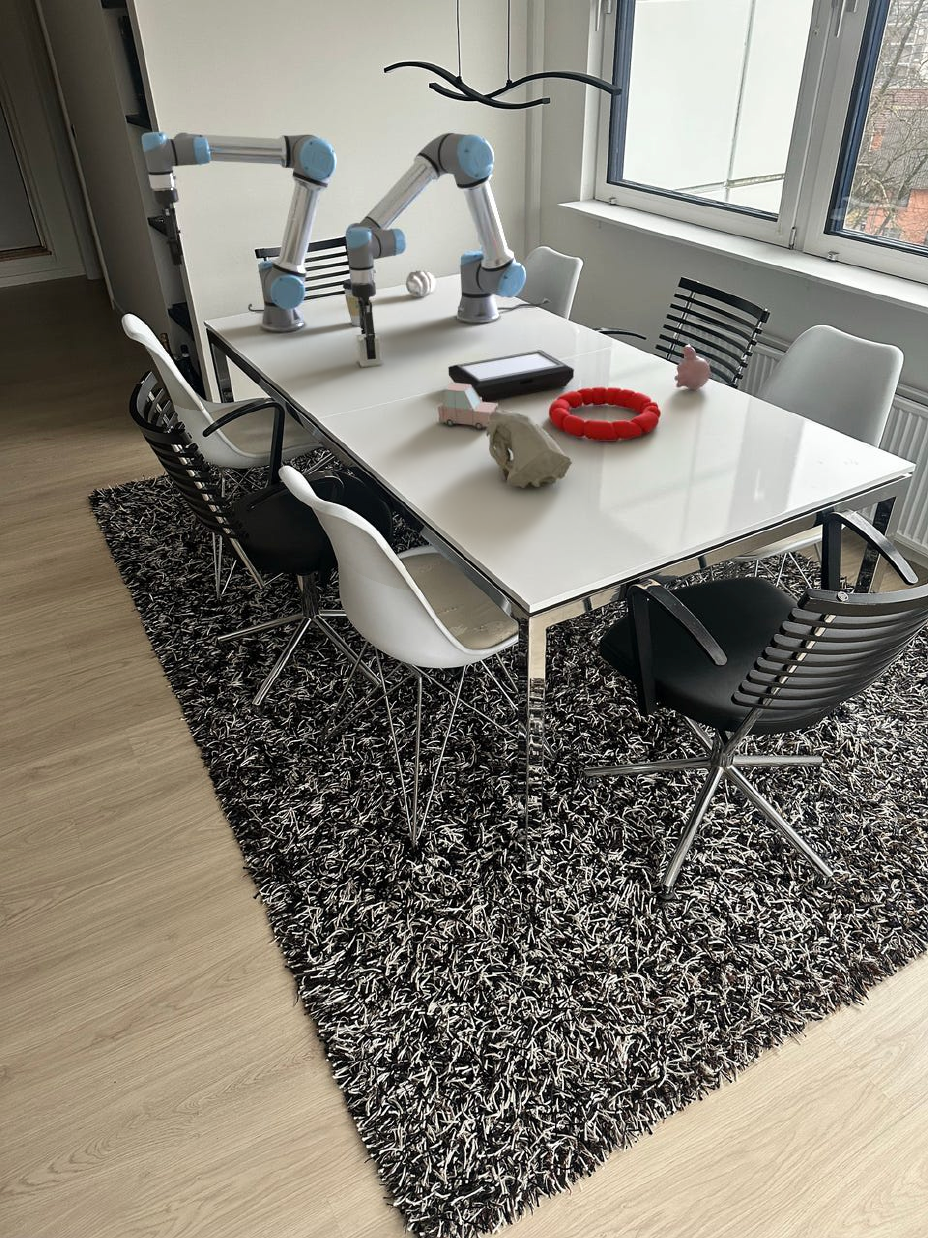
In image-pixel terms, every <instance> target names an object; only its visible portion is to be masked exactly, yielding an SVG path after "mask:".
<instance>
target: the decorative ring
mask: <svg viewBox="0 0 928 1238" xmlns="http://www.w3.org/2000/svg"><path fill="white" fill-rule="evenodd" d="M583 405H584V406H586V407H587V406H591V405H593V406H604V405H608V406H614V407H619V408H624V409H628V410H632V411H635V412H636V413H638V414H639V415H637V416H635V417H632V418H631V419H630V420H625V419H624V420H623V419H622V420H614V421H611V422H609V421H607V420H606V421H605V420H593V419H587V420H586V421H585V419H584V418H582V417H579V416H577V415H573V414H571V413H570V410H571V409H579V408H581V407H582V406H583ZM548 416H549V419H550V422H551V423H552V425H553V426H554V427H555V428H556V429H558V430H559V431H561V432H563V433H567V434H568V435H569V436H573V437H576V438H580V439H582V438H583V437H585V438H586V439H587V440H591V441H601V442H602V441H603V442H608V441H609V442H610V441H611V442H612V441H615V442H616V441H618V440H630V439H634V438H638V437H641V436H642V434H647V433H650V432H651V431H653V430H654V429H655V428H656V427H657V426H658V424H659V422H660V421H659V420H660V417H661V410H660V408H659V405H658V403H657V402H656V401H652V399H651V397H649V396H648V395H646V394H644V393H642V392H635V391H634V390H632V389H628V388H624V389H622V388H620V387H613V386H612V387H611V386H610V387H608V388H606V387H604V386H594V387H585V388H584V387H583V388H580V389H578V390H571V391H568V392H565V393H563V394H561V395H560V396H558V397H557V398H556V400H554V401H552V403H551V404H550V407H549V409H548Z"/></svg>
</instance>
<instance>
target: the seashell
mask: <svg viewBox="0 0 928 1238" xmlns="http://www.w3.org/2000/svg"><path fill="white" fill-rule="evenodd" d="M405 280H406V281H405V287H406V290H407V292H408V294H410V295H411V296H413V297H415V298H416V297H426V296H429V295H430V294H431V293H432V292H433V290H434V289H435V286H436V279H435V277H434V275H433V274H432V273H430V272H429V270H415V271H410V272H409V273H408V275H407V277H406V279H405Z"/></svg>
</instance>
